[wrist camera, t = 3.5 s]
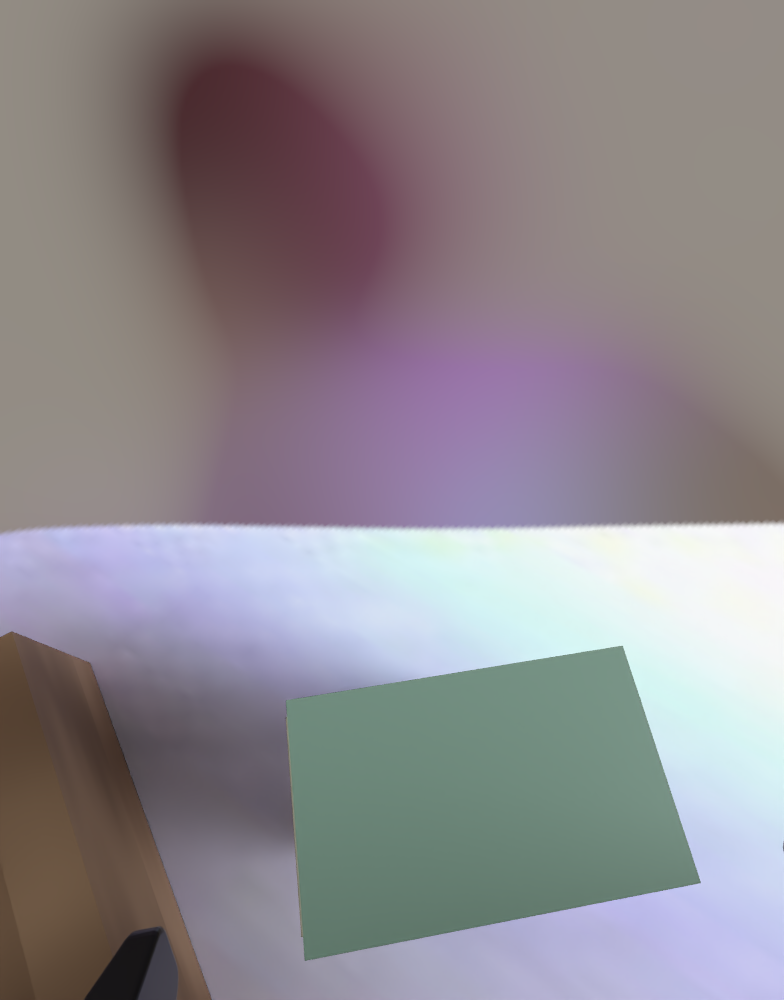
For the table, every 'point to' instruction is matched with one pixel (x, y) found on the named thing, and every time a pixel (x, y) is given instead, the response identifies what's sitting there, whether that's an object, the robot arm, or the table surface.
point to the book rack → (71, 836)
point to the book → (477, 801)
